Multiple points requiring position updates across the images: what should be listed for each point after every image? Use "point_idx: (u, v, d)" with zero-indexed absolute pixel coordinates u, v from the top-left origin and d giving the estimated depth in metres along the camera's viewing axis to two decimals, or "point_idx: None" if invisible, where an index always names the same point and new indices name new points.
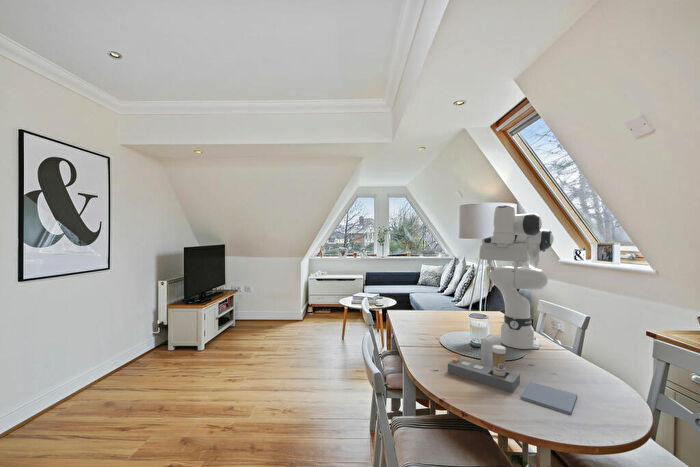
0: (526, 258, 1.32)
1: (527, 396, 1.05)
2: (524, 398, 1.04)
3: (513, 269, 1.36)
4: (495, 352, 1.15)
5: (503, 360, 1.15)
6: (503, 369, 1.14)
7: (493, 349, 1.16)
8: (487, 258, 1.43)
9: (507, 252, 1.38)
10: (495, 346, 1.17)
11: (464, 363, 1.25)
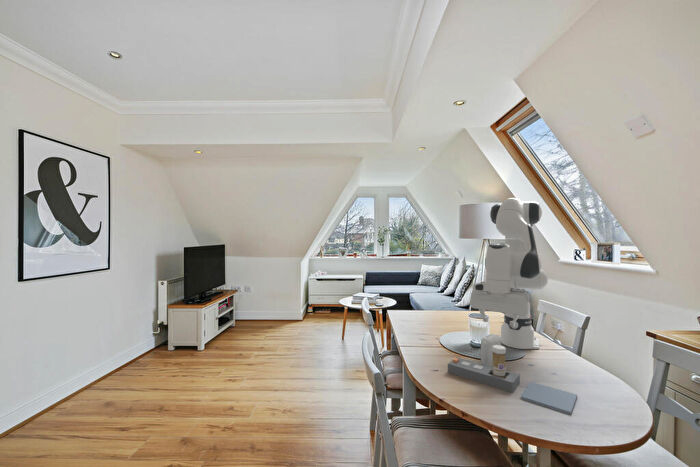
0: (526, 312, 1.09)
1: (527, 396, 1.05)
2: (524, 398, 1.04)
3: (511, 323, 1.13)
4: (495, 352, 1.15)
5: (503, 360, 1.15)
6: (503, 369, 1.14)
7: (493, 349, 1.16)
8: (479, 307, 1.19)
9: (503, 303, 1.14)
10: (495, 346, 1.17)
11: (464, 363, 1.25)
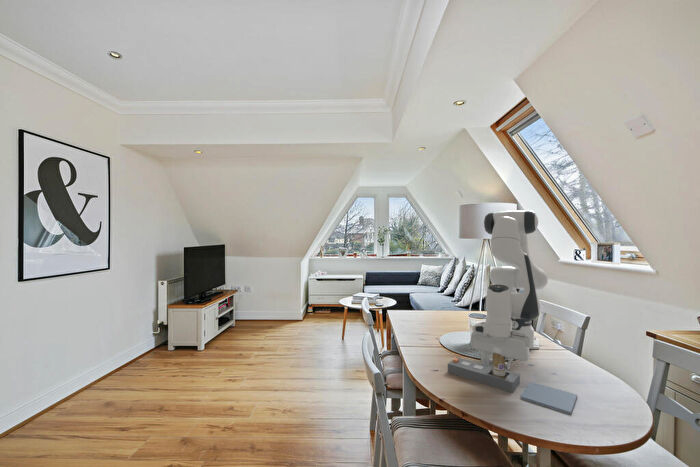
0: (526, 358, 1.09)
1: (527, 396, 1.05)
2: (524, 398, 1.04)
3: (505, 366, 1.14)
4: (495, 352, 1.15)
5: (503, 360, 1.15)
6: (503, 369, 1.14)
7: (493, 349, 1.16)
8: (479, 349, 1.19)
9: (503, 346, 1.14)
10: None
11: (464, 363, 1.25)
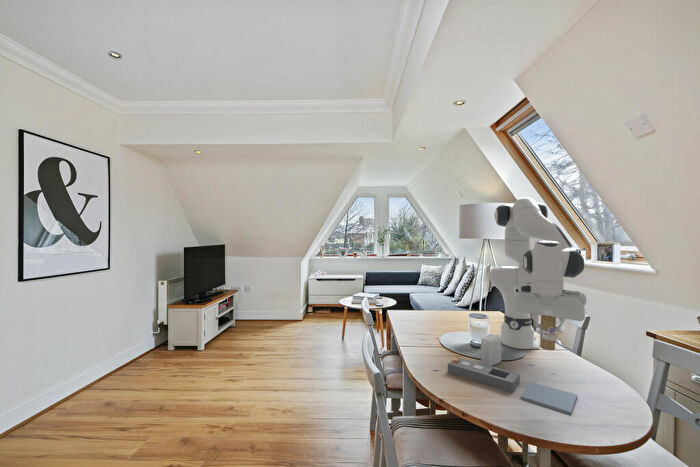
0: (582, 317, 0.98)
1: (527, 396, 1.05)
2: (524, 398, 1.04)
3: (557, 328, 1.03)
4: (545, 314, 1.05)
5: (554, 323, 1.04)
6: (554, 333, 1.04)
7: None
8: (526, 311, 1.09)
9: (554, 306, 1.03)
10: None
11: (464, 363, 1.25)
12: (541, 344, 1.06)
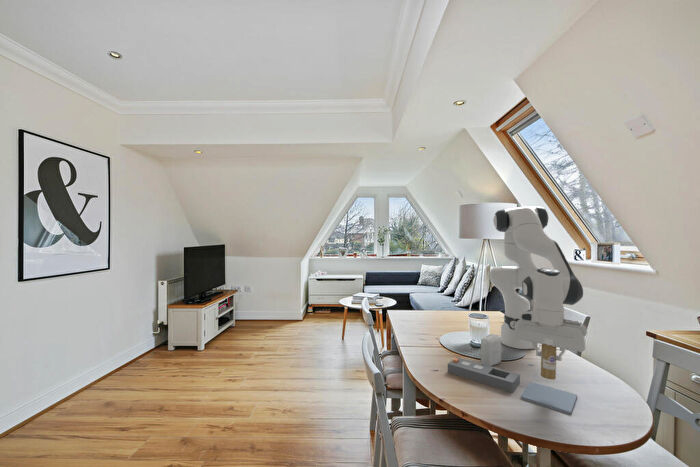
0: (583, 348, 0.98)
1: (527, 396, 1.05)
2: (524, 398, 1.04)
3: (557, 357, 1.03)
4: (546, 343, 1.04)
5: (554, 352, 1.04)
6: (554, 362, 1.04)
7: (543, 340, 1.05)
8: (526, 339, 1.09)
9: (555, 335, 1.03)
10: None
11: (464, 363, 1.25)
12: (542, 373, 1.06)
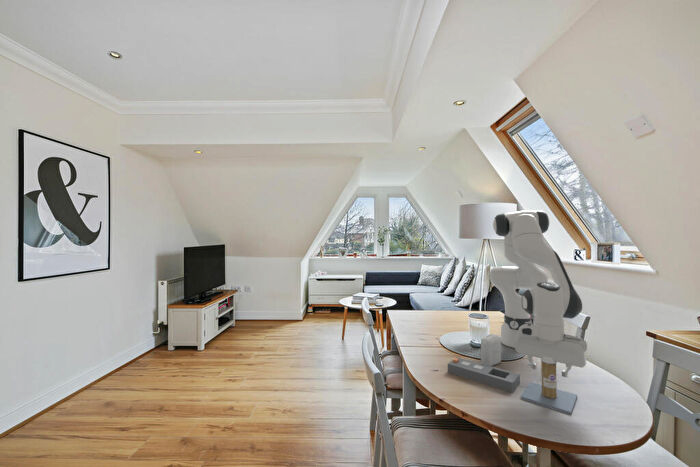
0: (583, 363, 0.98)
1: (527, 396, 1.05)
2: (524, 398, 1.04)
3: (563, 373, 1.02)
4: (545, 362, 1.04)
5: (554, 371, 1.04)
6: (555, 381, 1.04)
7: (543, 359, 1.05)
8: (526, 353, 1.09)
9: (555, 350, 1.03)
10: None
11: (464, 363, 1.25)
12: (542, 391, 1.06)
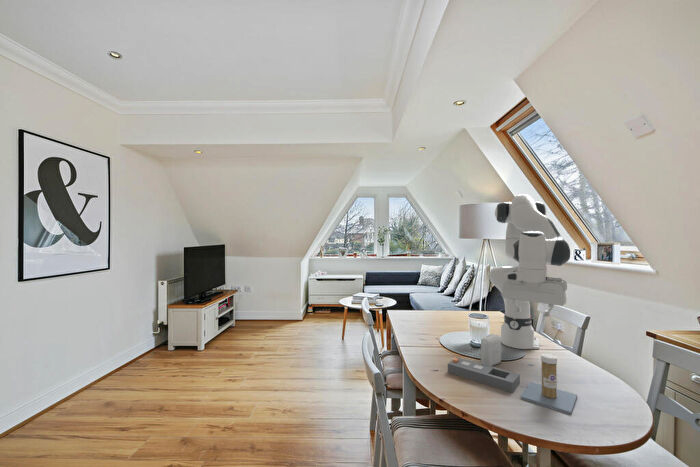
0: (563, 302, 1.06)
1: (527, 396, 1.05)
2: (524, 398, 1.04)
3: (546, 313, 1.10)
4: (545, 362, 1.04)
5: (555, 371, 1.04)
6: (555, 381, 1.04)
7: (543, 359, 1.05)
8: (512, 297, 1.16)
9: (538, 292, 1.10)
10: (545, 355, 1.06)
11: (464, 363, 1.25)
12: (543, 391, 1.06)
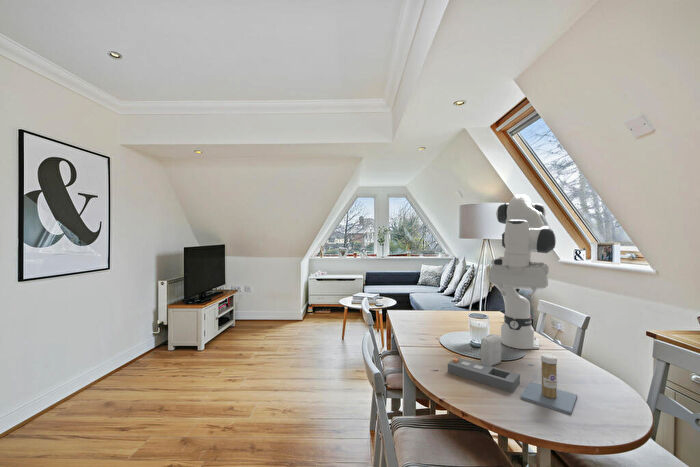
0: (545, 284, 1.13)
1: (527, 396, 1.05)
2: (524, 398, 1.04)
3: (529, 296, 1.17)
4: (545, 362, 1.04)
5: (555, 371, 1.04)
6: (555, 381, 1.04)
7: (543, 359, 1.05)
8: (498, 282, 1.23)
9: (522, 276, 1.18)
10: (545, 355, 1.06)
11: (464, 363, 1.25)
12: (542, 391, 1.06)
